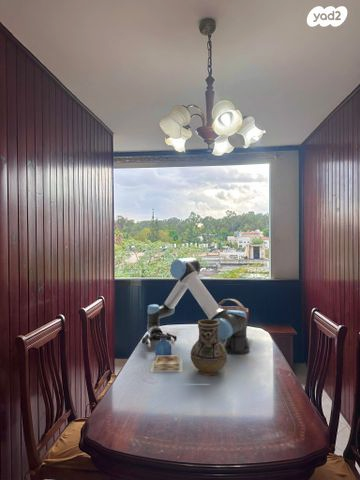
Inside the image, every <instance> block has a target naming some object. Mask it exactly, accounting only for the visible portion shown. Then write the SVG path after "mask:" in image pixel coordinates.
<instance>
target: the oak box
mask: <svg viewBox="0 0 360 480" xmlns="http://www.w3.org/2000/svg"><path fill="white" fill-rule="evenodd" d="M154 360H155V362H154V370H179V360H180V355H173V354H171V355H156V354H155V358H154Z"/></svg>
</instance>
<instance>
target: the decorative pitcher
mask: <svg viewBox="0 0 360 480" xmlns="http://www.w3.org/2000/svg"><path fill="white" fill-rule="evenodd" d="M218 325H219V321H217V320H211V319H209V318H207V319H200V320H198V321H197V328H198V339H197V341H196V342H195V343H194V345H193V346H192V348H191V350H190V361H191V362H192V364H193V366H194V367H195V368H196V369H197V370H198V373H199V374H201V375H205V376H215V375H217V374H219V371H220V370H222V369H223V367H224V366H225V364H226V362H227V359H228V352H226V350H225V348H224V344H222V343H223V342H221V340H220V341H219V339H218V327H219V326H218Z"/></svg>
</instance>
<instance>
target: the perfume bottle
mask: <svg viewBox="0 0 360 480" xmlns="http://www.w3.org/2000/svg"><path fill="white" fill-rule="evenodd" d="M171 344H172V343H170V341H168V340H166V335H161V337H160V340H159V341H157V343H156V345H155V356H156V355H172V345H171Z"/></svg>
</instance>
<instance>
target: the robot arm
mask: <svg viewBox="0 0 360 480" xmlns="http://www.w3.org/2000/svg"><path fill="white" fill-rule="evenodd" d="M169 267H170V269H169V272H170V275H171V277H172V278H174V279H176V280H178V281H177V282H176V284H175V285H174V287H173V288H172V290H171V292H170V293H169V295H168V297H167V298H166V300H165V301H164V302H163V304H162V305H159V304H157V303H156V304H155V303H153V304H149V305H147V326H146V330H147V333H148V334H147V333H146V334H145V336H144V337H142V340H141V341H142V342H141V343H142V344H145V345H148V348H151V342H159V341H161V340H160V337H161V335H166V341H169V342H171V343H170V344H172V346H175V342H176V341H177V339H178V337H177V335H175V334H170V333H169V332H166V333H163V331H162V329H161V327H160V319H162V318H165V317H169V316H171V315H174V313H175V307H176V306H177V305H178V303H179V301H180V299H181V298H182V297H183V296H184V294H185V293H186V291H187V290H189V292H190V293H191V294H192V296H193V297H194V299H195V300H196V301H197V303H198V304H199V306H200V307H201V309H202V310H203V312H204V313H205V315H206V316H207V317H208V318H207V319H211V320H217V321H219V325H218V326H219V327H218V339H220V341H221V340H223V339H225V341H224V340H223V341H224V343H223V346H224V348H225V350H226V353H227V354H233V355H244V354H247V353H249V352H250V350H251V349H250V344H249V341H248V338H247V329H246V321H247V317H246V313H245V312H243V311H237V310H227V311H225V310H224V309H221V308H220V307H219V305H218V304H219V303H217V301H216V300H215V299H214V297H213V296H212V295H211V293H210V292H209V290H208V289H207V288H206V286H205V285H204V283H203V282H202V281H201V279H200V278H199V274H200V273H201V268H202V267H201V263H200V261H198V259H197V258H195V257H185V258H182V257H180V258H177V259H174V260H173V261H172V262H171V264H170V265H169Z"/></svg>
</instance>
